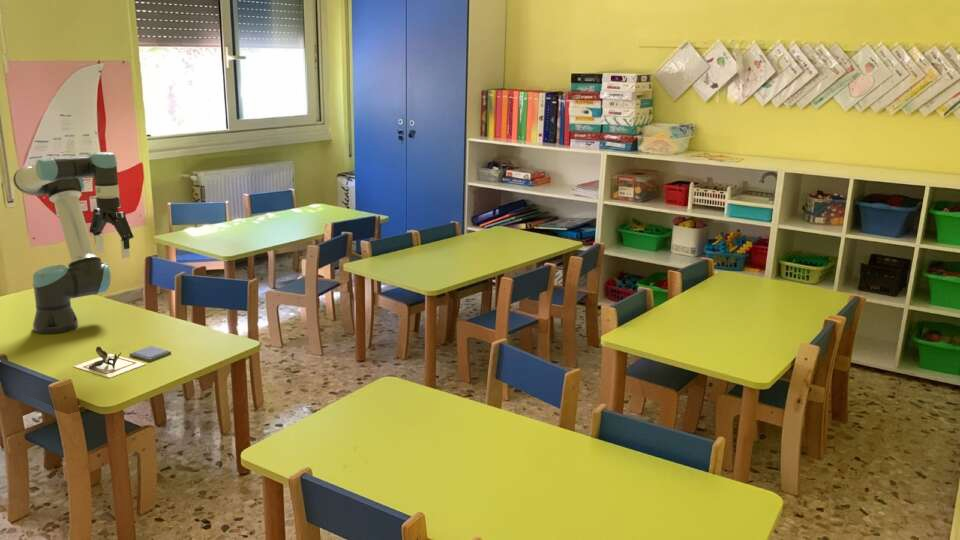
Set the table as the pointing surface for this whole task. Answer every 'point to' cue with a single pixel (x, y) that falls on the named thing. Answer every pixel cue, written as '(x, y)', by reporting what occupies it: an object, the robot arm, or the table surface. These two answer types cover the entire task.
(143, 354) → the ink pad
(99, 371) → the print sheet
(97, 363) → the eagle figurine
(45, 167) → the robot arm
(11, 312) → the table surface
